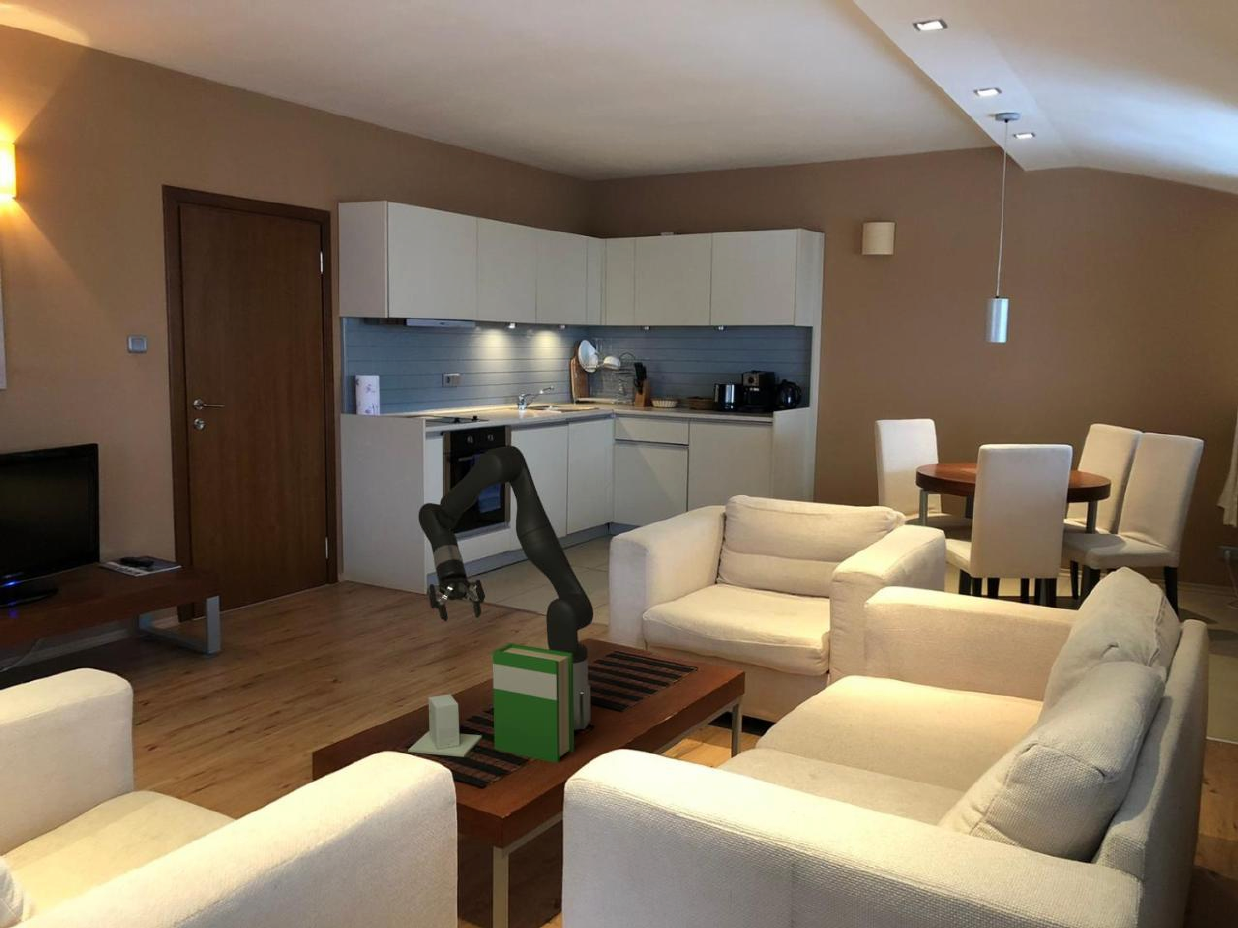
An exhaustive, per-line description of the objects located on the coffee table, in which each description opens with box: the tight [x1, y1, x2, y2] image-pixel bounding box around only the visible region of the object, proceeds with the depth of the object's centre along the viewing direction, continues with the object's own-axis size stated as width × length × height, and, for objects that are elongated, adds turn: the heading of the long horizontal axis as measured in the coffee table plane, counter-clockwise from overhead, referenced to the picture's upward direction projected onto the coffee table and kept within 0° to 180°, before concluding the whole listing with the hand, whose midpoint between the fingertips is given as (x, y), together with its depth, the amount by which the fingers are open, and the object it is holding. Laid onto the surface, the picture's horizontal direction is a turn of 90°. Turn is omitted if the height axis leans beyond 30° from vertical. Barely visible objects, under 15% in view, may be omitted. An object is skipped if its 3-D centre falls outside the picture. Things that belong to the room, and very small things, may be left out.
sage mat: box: [407, 730, 483, 758], centre depth 243 cm, size 14×12×1 cm
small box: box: [428, 693, 460, 749], centre depth 242 cm, size 8×6×10 cm
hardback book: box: [492, 643, 575, 764], centre depth 238 cm, size 18×7×24 cm, turn 62°
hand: (462, 617), depth 261 cm, fingers open, 8 cm apart
